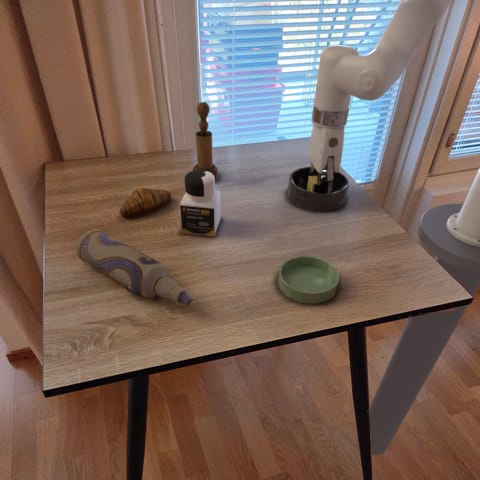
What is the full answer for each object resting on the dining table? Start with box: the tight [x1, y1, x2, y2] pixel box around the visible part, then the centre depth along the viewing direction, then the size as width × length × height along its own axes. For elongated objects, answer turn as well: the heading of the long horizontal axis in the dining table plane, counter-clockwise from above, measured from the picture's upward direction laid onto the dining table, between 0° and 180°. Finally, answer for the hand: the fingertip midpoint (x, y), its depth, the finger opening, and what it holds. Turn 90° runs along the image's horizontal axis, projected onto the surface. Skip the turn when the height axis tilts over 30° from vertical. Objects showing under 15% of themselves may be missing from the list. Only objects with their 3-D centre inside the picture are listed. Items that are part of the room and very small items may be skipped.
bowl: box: [287, 166, 350, 213], centre depth 101 cm, size 14×14×4 cm
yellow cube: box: [307, 175, 329, 193], centre depth 100 cm, size 4×4×4 cm
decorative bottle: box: [75, 228, 194, 306], centre depth 75 cm, size 26×8×7 cm, turn 52°
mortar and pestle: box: [192, 101, 219, 182], centre depth 102 cm, size 7×6×18 cm
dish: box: [277, 255, 340, 305], centre depth 78 cm, size 11×11×2 cm
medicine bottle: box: [179, 170, 221, 237], centre depth 87 cm, size 7×7×12 cm
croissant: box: [119, 187, 172, 218], centre depth 95 cm, size 14×7×5 cm, turn 134°
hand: (316, 193), depth 102 cm, fingers closed on yellow cube, 4 cm apart
